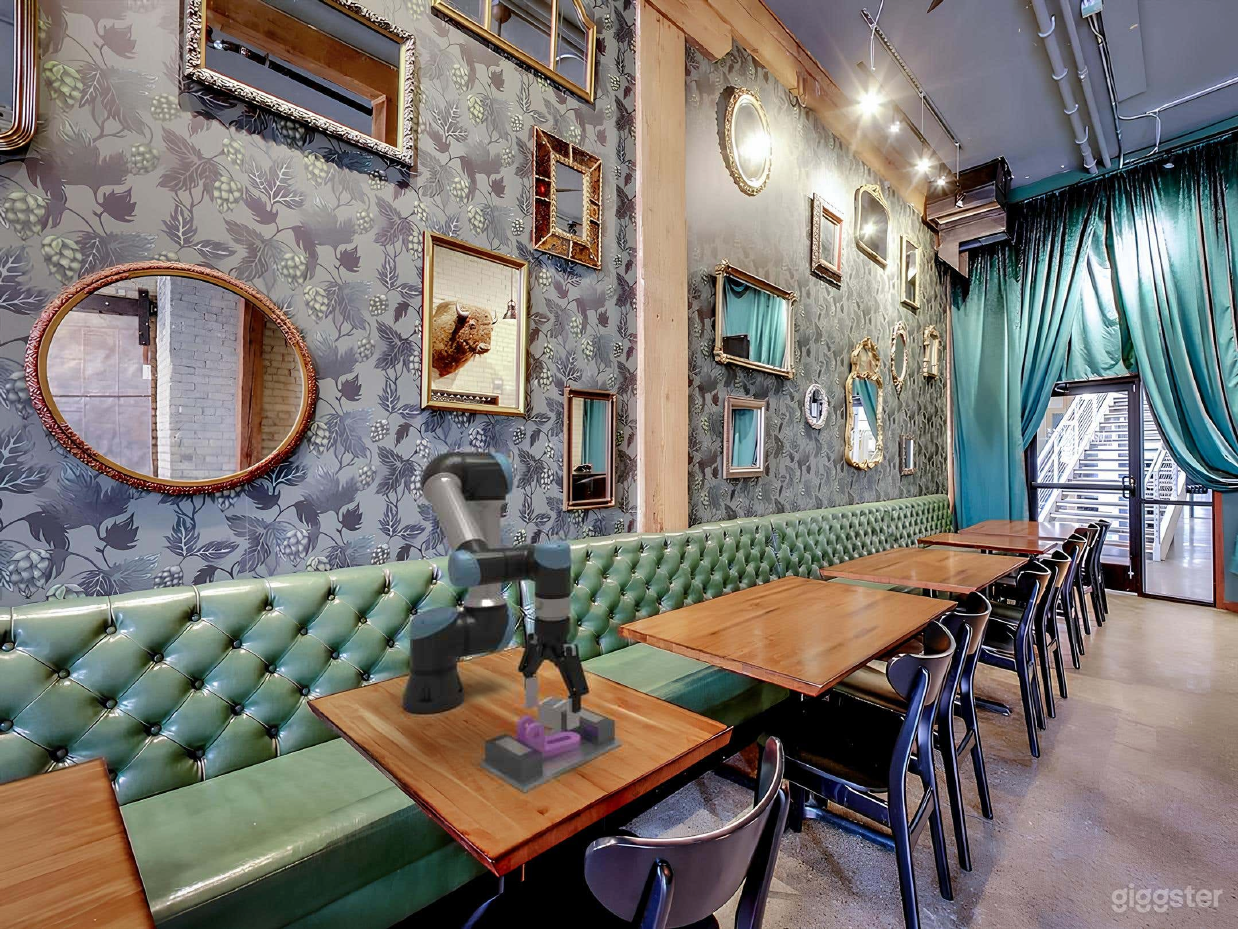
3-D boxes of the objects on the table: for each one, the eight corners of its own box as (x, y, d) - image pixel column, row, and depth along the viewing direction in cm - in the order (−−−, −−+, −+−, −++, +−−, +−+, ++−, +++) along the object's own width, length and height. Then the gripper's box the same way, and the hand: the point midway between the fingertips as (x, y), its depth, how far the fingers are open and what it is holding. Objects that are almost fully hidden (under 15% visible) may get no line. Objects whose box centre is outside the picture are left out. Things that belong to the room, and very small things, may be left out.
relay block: (537, 725, 136) (537, 703, 136) (550, 717, 140) (550, 695, 140) (555, 729, 133) (555, 707, 134) (567, 721, 138) (567, 699, 138)
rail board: (478, 765, 117) (478, 739, 117) (574, 724, 136) (574, 702, 136) (524, 793, 107) (524, 764, 107) (621, 745, 125) (621, 720, 126)
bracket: (527, 762, 115) (527, 727, 115) (516, 751, 120) (516, 717, 120) (585, 746, 122) (584, 712, 122) (572, 736, 127) (572, 704, 127)
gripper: (502, 608, 128) (501, 704, 128) (579, 631, 110) (578, 743, 111) (530, 602, 133) (529, 694, 133) (607, 624, 116) (606, 730, 116)
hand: (551, 717), depth 122 cm, fingers open, 13 cm apart
